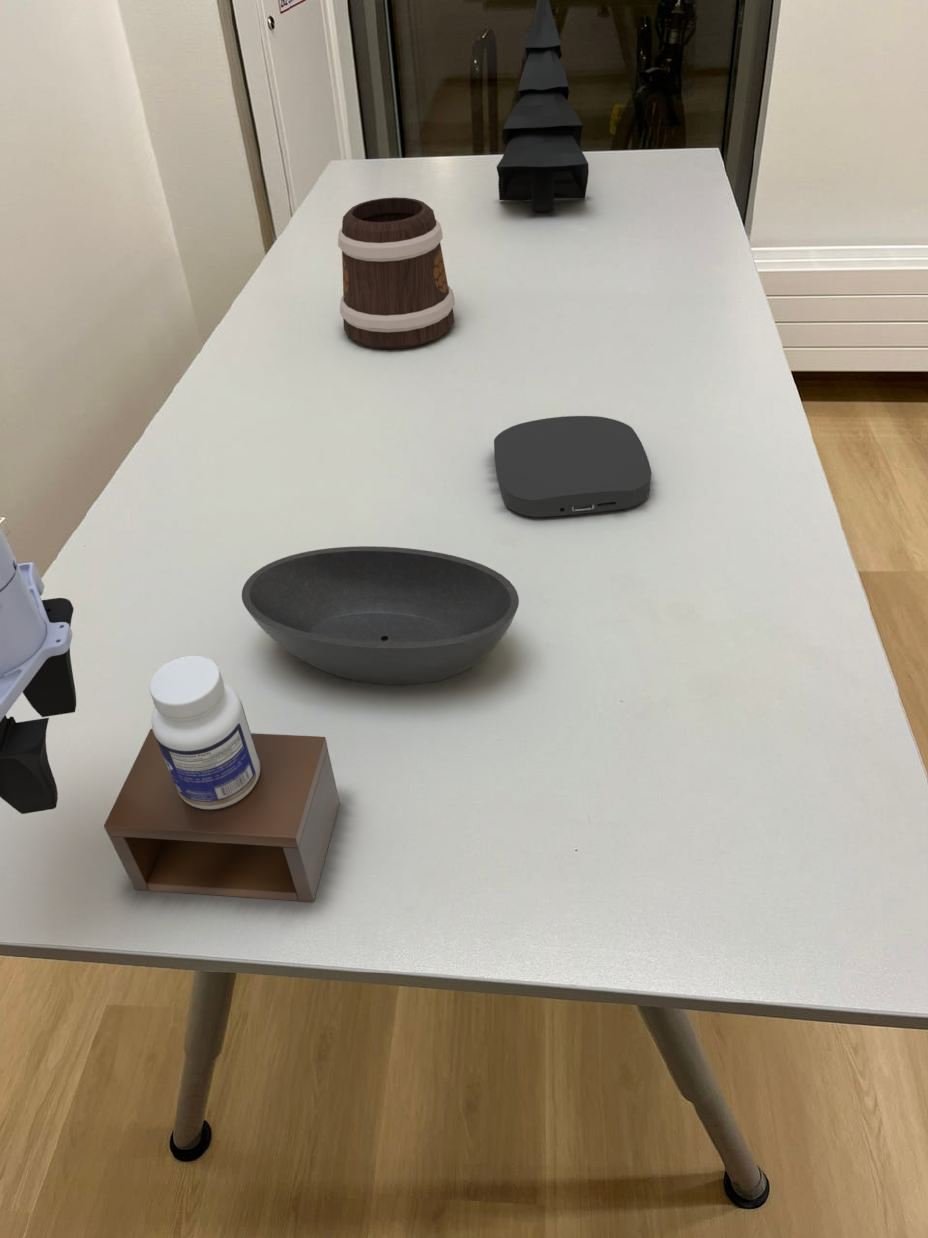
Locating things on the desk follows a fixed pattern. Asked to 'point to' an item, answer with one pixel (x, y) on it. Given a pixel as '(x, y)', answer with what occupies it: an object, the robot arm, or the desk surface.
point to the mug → (394, 274)
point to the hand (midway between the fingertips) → (49, 756)
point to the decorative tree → (542, 127)
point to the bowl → (382, 611)
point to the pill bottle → (203, 733)
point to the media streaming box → (571, 466)
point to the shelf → (230, 826)
